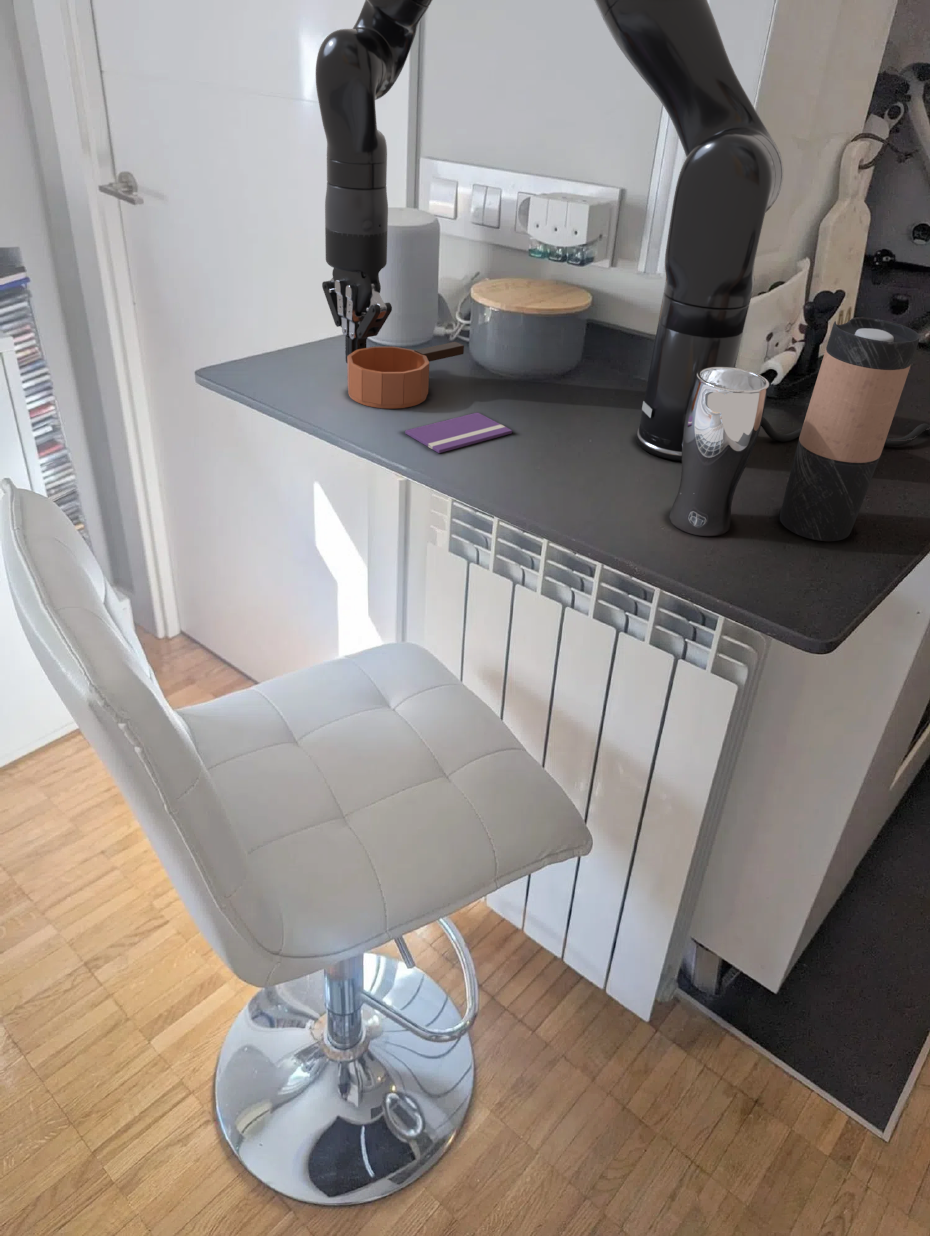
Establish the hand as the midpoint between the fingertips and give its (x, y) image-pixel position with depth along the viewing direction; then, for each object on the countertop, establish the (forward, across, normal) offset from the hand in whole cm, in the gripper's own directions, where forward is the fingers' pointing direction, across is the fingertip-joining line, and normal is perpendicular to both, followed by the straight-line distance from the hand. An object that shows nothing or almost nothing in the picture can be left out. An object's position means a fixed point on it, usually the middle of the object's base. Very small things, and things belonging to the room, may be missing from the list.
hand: (355, 364), depth 120 cm
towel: (+1, -22, 0) cm, 22 cm away
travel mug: (+1, -59, -17) cm, 62 cm away
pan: (+1, -7, -3) cm, 8 cm away
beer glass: (+1, -52, -7) cm, 53 cm away
